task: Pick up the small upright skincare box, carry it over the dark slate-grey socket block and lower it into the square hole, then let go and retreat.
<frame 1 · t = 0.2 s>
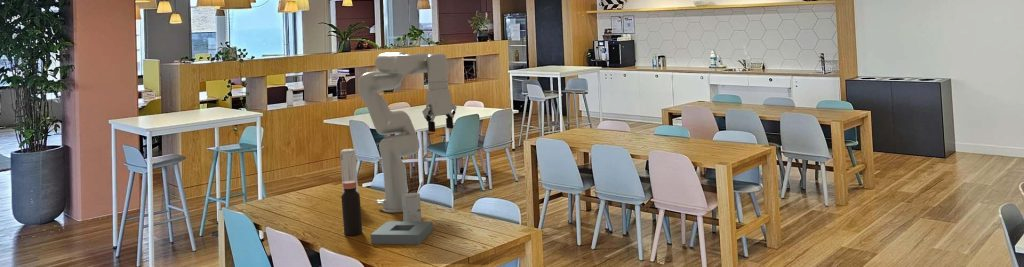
hand: (441, 129, 299), 36 cm above the table, tool pointing down, fingers open, 9 cm apart
skincare box: (412, 224, 303), on the table
air filter: (351, 206, 338), on the table
socket block: (403, 237, 285), on the table
bottle: (353, 234, 293), on the table
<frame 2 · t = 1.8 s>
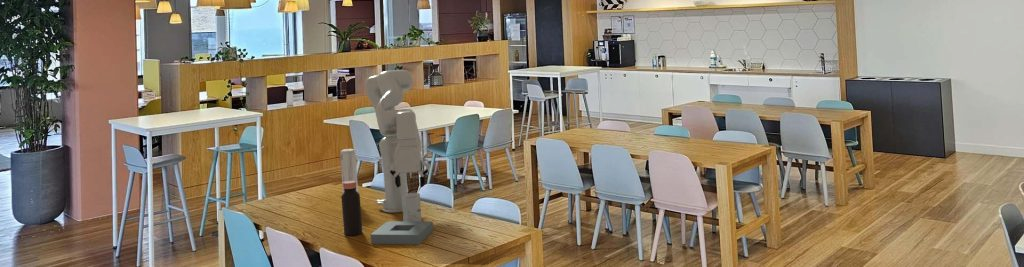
hand: (410, 186, 300), 15 cm above the table, tool pointing down, fingers open, 9 cm apart
nothing on the table moved.
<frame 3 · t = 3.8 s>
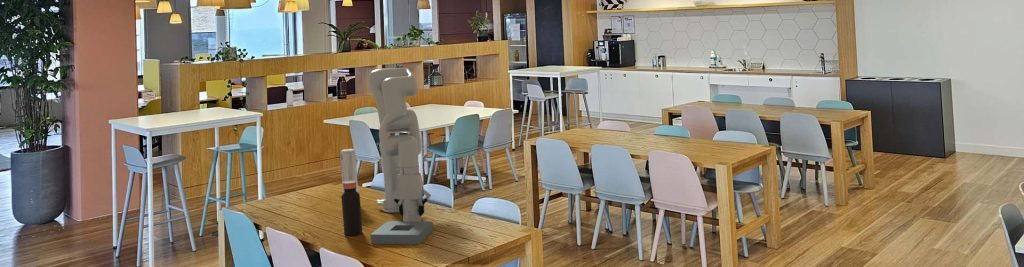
hand: (412, 214, 302), 4 cm above the table, tool pointing down, fingers closed on skincare box, 7 cm apart
skincare box: (412, 224, 303), on the table, touching gripper
everything else where it was.
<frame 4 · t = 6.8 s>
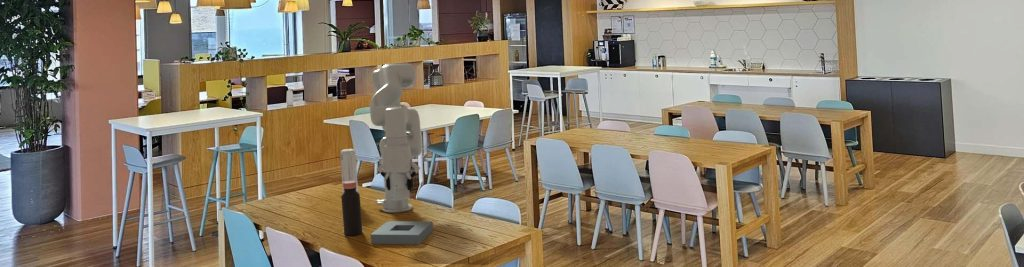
hand: (399, 189, 282), 18 cm above the table, tool pointing down, fingers closed on skincare box, 7 cm apart
skincare box: (400, 199, 283), point 14 cm above the table, touching gripper
everything else where it was.
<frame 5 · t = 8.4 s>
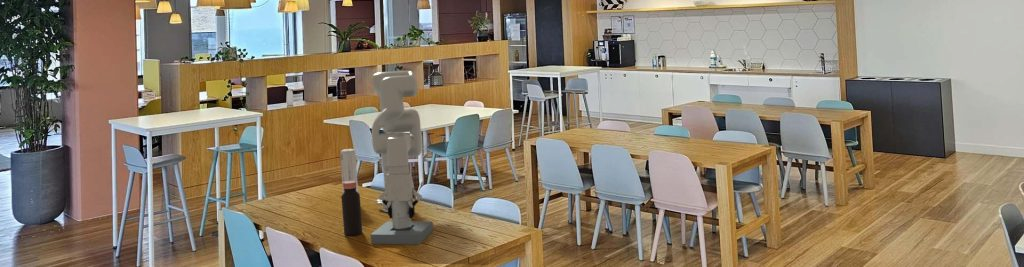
hand: (401, 217, 284), 8 cm above the table, tool pointing down, fingers closed on skincare box, 7 cm apart
skincare box: (402, 227, 284), point 4 cm above the table, touching gripper
everything else where it was.
when the fingers open (5 cm above the table, at t = 9.9 s): skincare box drops 2 cm, resting in socket block.
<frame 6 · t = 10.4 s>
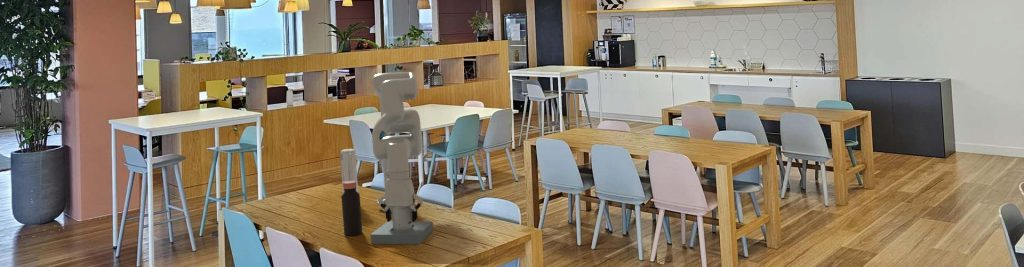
hand: (401, 220, 284), 6 cm above the table, tool pointing down, fingers open, 9 cm apart
skincare box: (403, 237, 285), resting in socket block
everything else where it was.
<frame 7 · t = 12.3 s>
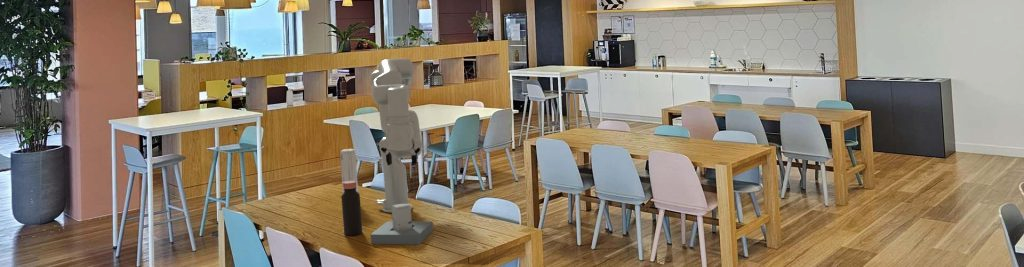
hand: (401, 164, 292), 25 cm above the table, tool pointing down, fingers open, 9 cm apart
nothing on the table moved.
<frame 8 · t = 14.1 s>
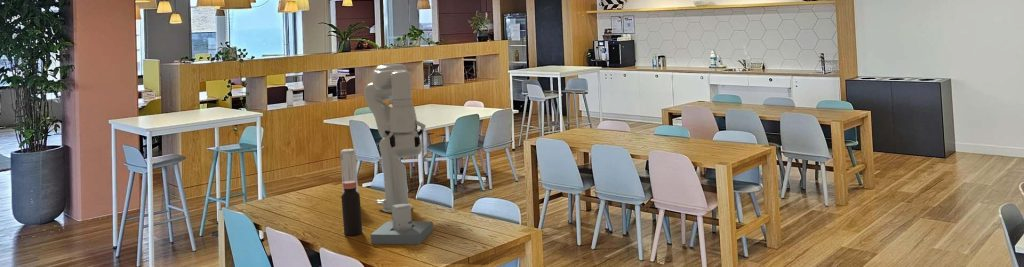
hand: (405, 146, 301), 30 cm above the table, tool pointing down, fingers open, 9 cm apart
nothing on the table moved.
at the end: skincare box 0.2 cm off-centre on the socket block, point 0.0 cm above the socket block's base; skincare box tilted 0°; the gripper is holding nothing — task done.
